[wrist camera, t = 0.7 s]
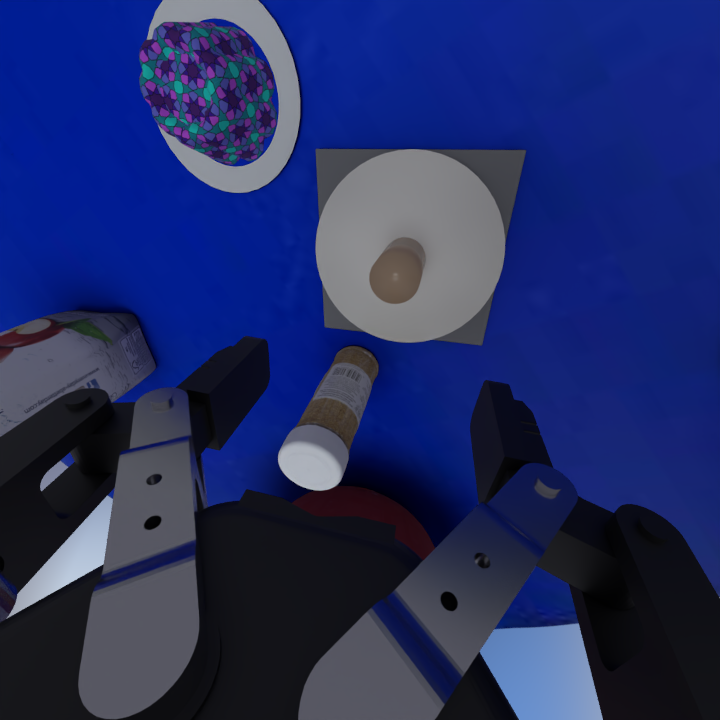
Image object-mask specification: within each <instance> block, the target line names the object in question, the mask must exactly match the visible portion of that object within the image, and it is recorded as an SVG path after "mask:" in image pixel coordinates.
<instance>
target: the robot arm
mask: <svg viewBox="0 0 720 720" xmlns="http://www.w3.org/2000/svg"><path fill="white" fill-rule="evenodd" d="M269 379H270V367H269V352H268V343H267V341H266V340H265V339H260V338H255V337H249V336H245V337H243V338H242V339H241V340H240V341H239V342H238V343H237V344H236V345H235V346H233V347H232V346H229V347H227V348H225V349H223V350H220V351H218V352H217V353H215V354H214V355H213V356H212V357H211V358H210V359H209V360H208V361H206V362H205V363H204V364H203V365H202V366H201V367H199V368H198V369H197V370H196V371H195V372H193V373H192V374H191V375H190V376H189V377H188V378H186V379H185V380H184V381H183V382H182V383H181V384H180V385H178V386H177V387H176V388H172V387H169V388H161V389H157V390H153V391H151V392H148V393H147V394H145V395H143V396H142V397H141V398H139V399H138V400H137V402H128V403H111V400H110V398H109V395H108V393H107V392H106V391H105V390H102V389H99V388H86V389H80V390H76V391H73V392H70V393H67V394H65V395H63V396H61V397H59V398H57V399H56V400H54V401H53V402H51V403H50V404H48V405H47V406H45V407H44V408H42V409H41V410H39V411H38V412H37V413H35V414H34V415H32V416H31V417H29V418H28V419H26V420H25V421H23V422H22V423H20V424H19V425H17V426H16V427H14V428H13V429H11V430H10V431H8V432H7V433H5V434H4V435H2V436H1V437H0V720H519V719H518V717H517V716H516V714H515V712H514V710H513V709H512V707H511V705H510V704H509V702H508V700H507V699H506V697H505V695H504V693H503V692H502V690H501V688H500V687H499V685H498V683H497V681H496V679H495V678H494V676H493V674H492V673H491V671H490V669H489V668H488V666H487V664H486V662H485V661H484V659H483V657H482V655H481V654H480V652H479V651H480V649H481V648H482V647H483V645H484V644H485V642H486V640H487V639H488V637H489V636H490V634H491V633H492V631H493V630H494V628H495V627H496V625H497V624H498V622H499V621H500V619H501V618H502V616H503V615H504V613H505V612H506V610H507V609H508V607H509V606H510V604H511V603H512V601H513V600H514V598H515V596H516V595H517V593H518V592H519V590H520V589H521V587H522V586H523V584H524V583H525V581H526V580H527V578H528V577H529V575H530V574H531V572H532V571H533V569H534V568H535V566H538V567H540V568H541V569H543V570H545V571H547V572H549V573H550V574H552V575H554V576H556V577H558V578H560V579H561V580H563V581H565V582H567V583H569V586H570V590H571V594H572V598H573V602H574V606H575V610H576V614H577V618H578V622H579V625H580V630H581V634H582V638H583V641H584V646H585V650H586V653H587V658H588V662H589V665H590V669H591V673H592V677H593V681H594V685H595V689H596V693H597V697H598V701H599V705H600V709H601V713H602V717H603V720H720V598H719V596H718V595H717V593H716V591H715V590H714V588H713V586H712V585H711V583H710V581H709V579H708V578H707V576H706V574H705V573H704V571H703V569H702V568H701V566H700V564H699V563H698V561H697V559H696V557H695V556H694V554H693V552H692V551H691V549H690V547H689V546H688V544H687V542H686V541H685V539H684V538H683V536H682V535H681V534H680V532H679V531H678V530H677V529H676V528H675V527H674V526H673V525H672V524H671V523H669V522H668V521H667V520H666V519H664V518H663V517H661V516H660V515H658V514H657V513H655V512H653V511H651V510H649V509H647V508H644V507H641V506H638V505H633V504H626V505H622V506H620V507H619V508H618V509H617V510H616V511H615V513H613V512H610V511H608V510H606V509H604V508H602V507H599V506H597V505H595V504H593V503H591V502H588V501H586V500H584V499H582V498H581V497H579V496H578V494H577V491H576V489H575V487H574V485H573V484H572V483H571V481H570V480H569V479H568V478H567V477H566V476H565V475H563V474H562V473H561V472H559V471H558V470H556V469H554V468H553V466H552V463H551V461H550V458H549V455H548V453H547V450H546V447H545V445H544V442H543V439H542V437H541V435H540V431H539V429H538V426H536V424H537V423H536V421H535V418H534V415H533V413H532V411H531V410H530V409H529V408H528V407H527V406H526V405H525V404H524V403H523V401H518V400H514V398H513V395H512V392H511V389H510V386H509V384H505V383H500V382H494V381H489V380H485V382H484V383H483V386H482V388H481V391H480V394H479V397H478V400H477V403H476V405H475V408H474V411H473V414H472V418H471V424H470V433H471V442H472V450H473V459H474V467H475V476H476V484H477V492H478V501H479V504H478V505H477V506H476V507H475V508H474V509H473V510H472V511H471V512H470V513H469V514H468V515H467V516H466V517H465V518H464V519H463V521H462V522H461V523H460V524H459V525H458V526H457V527H456V528H455V529H454V530H453V531H452V532H451V533H450V534H449V535H448V536H447V537H446V538H445V539H444V540H443V541H442V542H441V543H440V544H439V545H438V546H437V547H436V548H435V549H434V550H433V551H432V552H431V553H430V554H429V555H428V556H427V557H426V558H425V559H424V560H422V559H421V557H420V556H419V555H418V554H416V553H415V552H414V551H413V550H412V549H411V548H409V547H408V546H407V545H405V544H404V543H402V542H401V541H399V540H397V539H395V531H396V525H392V524H388V523H384V522H380V521H375V520H371V519H367V518H363V517H359V516H315V515H312V514H311V513H309V512H307V511H305V510H303V509H301V508H300V507H298V506H296V505H294V504H292V503H290V502H289V501H287V500H285V499H283V498H280V497H276V496H272V495H268V494H264V493H260V492H256V491H252V490H247V489H246V491H245V493H244V494H243V496H242V498H241V500H240V501H232V502H225V503H220V504H216V505H213V506H210V507H208V504H207V495H206V486H205V477H204V468H203V459H202V455H201V453H202V452H203V451H204V450H205V448H206V447H207V448H211V449H215V450H220V449H221V448H222V447H223V445H224V444H225V443H226V441H227V440H228V439H229V437H230V436H231V435H232V433H233V432H234V431H235V430H236V428H237V427H238V426H239V424H240V423H241V422H242V420H243V419H244V418H245V416H246V415H247V414H248V412H249V411H250V410H251V408H252V407H253V406H254V404H255V403H256V402H257V400H258V399H259V398H260V396H261V395H262V394H263V392H264V391H265V390H266V388H267V386H268V383H269ZM69 452H70V453H71V455H72V457H73V459H74V461H75V462H74V463H73V464H72V465H71V466H70V467H68V468H67V469H66V470H65V471H64V472H63V473H62V474H61V475H60V476H58V477H57V478H56V479H55V480H54V481H53V482H52V483H51V484H50V485H48V486H47V487H46V488H45V489H44V490H43V491H42V492H41V490H40V483H41V480H42V478H43V476H44V475H45V474H46V472H47V471H48V470H50V469H51V468H52V467H53V466H54V465H55V464H57V463H58V462H59V461H60V460H61V459H62V458H64V457H65V456H66V455H67V454H68V453H69ZM114 487H115V490H114V497H113V505H112V512H111V519H110V525H109V532H108V539H107V546H106V553H105V560H104V564H103V565H102V566H100V567H98V568H96V569H95V570H93V571H91V572H89V573H87V574H86V575H84V576H82V577H80V578H78V579H77V580H75V581H73V582H71V583H70V584H68V585H66V586H64V587H62V588H61V589H59V590H57V591H55V592H54V593H52V594H50V595H48V596H46V597H45V598H43V599H41V600H39V601H38V602H36V603H34V604H32V605H30V606H29V607H27V608H25V609H23V610H21V611H20V612H18V613H16V614H14V615H13V616H11V617H9V618H7V617H8V616H9V614H10V612H11V611H12V609H13V607H14V605H15V602H16V599H17V594H18V593H19V591H20V590H21V589H22V588H23V587H24V586H25V585H26V584H27V583H28V582H29V581H30V579H31V578H32V577H33V576H34V575H35V574H36V573H37V572H38V571H39V570H40V568H41V567H42V566H43V565H44V564H45V563H46V562H47V561H48V559H50V557H51V556H52V555H53V554H54V553H55V552H56V551H57V550H58V549H59V548H60V546H61V545H62V544H63V543H64V542H65V541H66V540H67V539H68V538H69V537H70V535H71V534H72V533H73V532H74V531H75V530H76V529H77V528H78V527H79V526H80V525H81V524H82V522H83V521H84V520H85V519H86V518H87V517H88V516H89V515H90V514H91V513H92V511H93V510H94V509H95V508H96V507H97V506H98V505H99V504H100V503H101V501H102V500H103V499H104V498H105V497H106V496H107V495H108V494H109V493H110V492H111V491H112V490H113V488H114ZM6 618H7V619H6Z"/></svg>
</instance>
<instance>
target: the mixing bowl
mask: <svg viewBox="0 0 720 720" xmlns="http://www.w3.org/2000/svg"><path fill="white" fill-rule="evenodd" d="M292 504H294V505H296V506H298V507H300V508H301V509H303V510H305V511H307V512H309V513H311V514H312V515H315V516H359V517H363V518H367V519H371V520H375V521H380V522H384V523H388V524H392V525H396V531H395V539H397V540H399V541H401V542H402V543H404V544H405V545H407V546H408V547H409V548H411V549H412V550H413V551H414V552H415V553H416V554H418V555H419V556H420V557H421V559H422V560H424V559H425V558H426V557H427V556H428V555H429V554H430V553H431V552H432V551H433V550H434V549H435V547H434V545H433V543H432V541H431V539H430V537H429V536H428V534H427V532H426V531H425V529H424V528H423V526H422V525H421V524H420V522H419V521H418V520H417V519H416V518H415V517H414V516H413V515H412V514H411V513H410V512H409V511H408V510H407V509H405V508H404V507H403V506H401V505H400V504H398V503H397V502H395V501H393V500H392V499H390V498H388V497H386V496H384V495H382V494H380V493H378V492H375V491H373V490H369V489H367V488H361V487H354V486H335V487H333V488H331V489H328V490H322V491H319V490H315V491H312V492H309V493H307V494H305V495H303V496H302V497H300V498H298V499H297V500H295V501H294V502H292Z"/></svg>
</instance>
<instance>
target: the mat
mask: <svg viewBox="0 0 720 720" xmlns="http://www.w3.org/2000/svg"><path fill="white" fill-rule="evenodd" d="M397 150H408V149H316V165H317V185H318V204H319V221H320V217H321V214H322V212H323V209H324V207H325V205H326V203H327V201H328V199H329V197H330V196H331V194H332V192H333V191H334V190H335V188H336V187H337V186H338V184H339V183H340V182H341V181H342V180H343V179H344V178H345V177H346V176H347V175H348V174H349V173H350V172H351V171H353V170H354V169H355V168H357V167H358V166H359V165H361V164H363V163H364V162H366V161H368V160H370V159H371V158H374V157H376V156H379V155H381V154H384V153H388V152H392V151H397ZM428 151H432V152H436V153H440V154H443V155H445V156H448V157H450V158H452V159H455V160H456V161H458V162H460V163H461V164H463V165H464V166H466V167H467V168H468V169H470V170H471V171H472V172H473V173H474V174H475V175H477V176H478V177H479V179H480V180H481V181H482V182H483V183H484V184H485V186H486V187H487V188H488V190H489V191H490V193H491V195H492V196H493V198H494V200H495V202H496V204H497V207H498V209H499V211H500V214H501V218H502V222H503V226H504V234H505V241H506V237H507V233H508V228H509V224H510V219H511V215H512V210H513V206H514V202H515V197H516V193H517V188H518V184H519V180H520V175H521V171H522V166H523V162H524V158H525V153H526V150H428ZM494 290H495V289H494ZM493 294H494V291H493V293H492V294H491V296H490V298H489V299H488V301H487V302H486V303H485V305H484V306H483V307H482V308H481V310H480V311H479V312H478V313H477V314H476V315H475V316H474V317H473V318H472V319H471V320H469V321H468V322H467V323H465V324H464V325H463V326H461V327H460V328H458V329H456V330H455V331H453V332H451V333H449V334H446V335H444V336H442V337H439V338H436V339H432V340H439V341H448V342H457V343H465V344H474V345H482V343H483V339H484V334H485V330H486V325H487V321H488V316H489V312H490V308H491V303H492V299H493ZM323 303H324V322H325V327H327V328H336V329H345V330H353V331H362V332H365V331H363V330H362V329H360V328H358V327H357V326H356V325H354V324H353V323H351V322H350V321H349V320H348V319H347V318H346V317H345V316H344V315H343V314H342V313H341V312H340V311H339V310H338V309H337V308H336V306H335V305H334V304H333V302H332V301H331V299H330V298H329V296H328V294H327V292H326V290H325V288H324V286H323Z"/></svg>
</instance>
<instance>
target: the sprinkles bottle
mask: <svg viewBox="0 0 720 720" xmlns="http://www.w3.org/2000/svg"><path fill="white" fill-rule="evenodd" d="M377 374H378V363H377V360H376V359H375V357H374V356H373V355H372V353H370V352H369V351H368V350H366V349H364V348H361V347H358V346H349V347H346V348H343V349H342V350H340V351H339V352H338V353H337V355H336V356H335V358H334V362H333V364H332V365H331V367H330V369H329V370H328V372H327V373H326V374H325V376H324V377H323V379H322V381H321V382H320V384H319V386H318V388H317V389H316V391H315V393H314V396H313V398H312V399H311V401H310V403H309V405H308V407H307V408H306V410H305V412H304V413H303V416H302V417H301V419H300V421H299V423H298V424H297V426H296V427H295V428H294V429H293V430H292V431H291V432H290V433H289V434H288V436H287V438H286V439H285V441H284V443H283V445H282V447H281V449H280V451H279V454H278V463H279V466H280V468H281V470H282V471H283V473H284V474H285V475H286V476H287V477H288V478H289V479H290V480H291V481H293V482H294V483H296V484H297V485H299V486H301V487H304V488H307V489H311V490H319V491H322V490H328V489H331V488H333V487H335V486H336V485H337V484H338V483H339V482H340V481H341V479H342V477H343V474H344V471H345V469H346V466H347V463H348V459H349V449H350V446H351V444H352V441H353V437H354V435H355V433H356V431H357V429H358V426H359V423H360V420H361V417H362V415H363V412H364V409H365V406H366V403H367V401H368V398H369V395H370V392H371V388H372V384H373V382H374V379H375V378H376V376H377Z"/></svg>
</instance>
